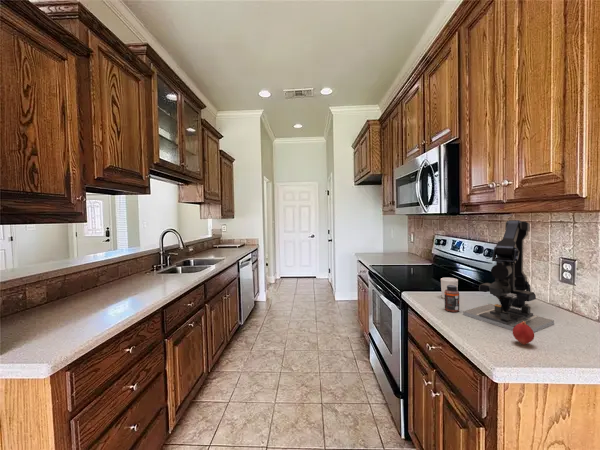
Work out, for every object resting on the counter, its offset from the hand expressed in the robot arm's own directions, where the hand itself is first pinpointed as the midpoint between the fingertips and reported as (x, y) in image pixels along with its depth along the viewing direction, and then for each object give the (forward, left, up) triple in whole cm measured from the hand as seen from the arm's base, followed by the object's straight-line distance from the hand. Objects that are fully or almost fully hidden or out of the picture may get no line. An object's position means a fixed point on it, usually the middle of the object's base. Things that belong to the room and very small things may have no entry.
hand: (505, 311), depth 118 cm
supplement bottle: (+9, -18, -3) cm, 20 cm away
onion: (+19, +15, -3) cm, 25 cm away
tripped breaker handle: (0, -3, 0) cm, 3 cm away
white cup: (-6, -30, -3) cm, 30 cm away
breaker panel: (0, 0, -3) cm, 3 cm away
